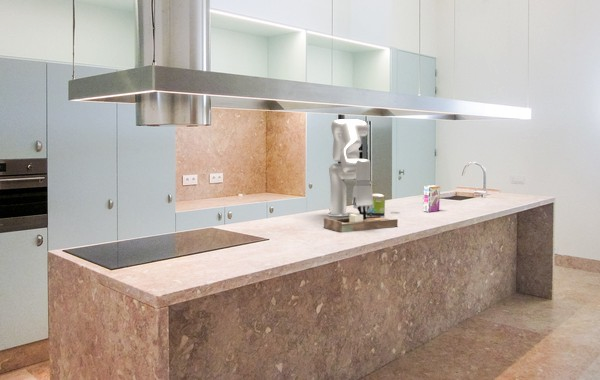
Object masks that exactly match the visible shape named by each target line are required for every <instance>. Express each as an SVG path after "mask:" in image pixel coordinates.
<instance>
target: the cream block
mask: <svg viewBox="0 0 600 380" xmlns="http://www.w3.org/2000/svg"><path fill="white" fill-rule="evenodd" d="M348 218H349V223H359V222H363V215H361V214H359V213H349V216H348Z"/></svg>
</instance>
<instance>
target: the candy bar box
mask: <svg viewBox="0 0 600 380" xmlns="http://www.w3.org/2000/svg"><path fill="white" fill-rule="evenodd" d="M440 190H441V186H440V185H424V186H423V199H422V201H423V203H422V207H423V208H422V212H424V213H434V212H439V211H440V201H441V199H440V196H441V191H440Z"/></svg>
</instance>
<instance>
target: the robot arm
mask: <svg viewBox="0 0 600 380" xmlns="http://www.w3.org/2000/svg"><path fill="white" fill-rule="evenodd" d="M330 127H331V134H332V136H333V137H332V138H333V141H332V142H333V144H332V160H333V161H335V162H336V163H332V164H330V165H329V168H328V173H329V180H330V182H329V183H330V208H329V211H330V212H329V213H327V215H328V217H334V218H335V217H336V218H344V217H349V214H350V213H348V212H347V184H346V183H345V182H344V181H343V180H355V185H354V186H353V189H352V196H351V197H352V199H351V203H352V206H353V209H356V210H357V211H358V214H361V215H363V220H366V212H367V210H368V208H371V207H372V203H373V195H372V194H373V188H372V186H371V184H372V183H373V181H372V180H371V159H370V160H369V159H366V158H360V156H361V155H360V150H359V148H360V147H362V140H361V137H367V135H368V134H369V125H368V123H367V122H366V121H365V120H362V119H354V118H353V119H351V118H350V119H348V118H347V119H343V118H342V119H341V118H340V119H334V120H333V121H332V122H331V126H330ZM337 162H338V163H337ZM339 162H340V163H339Z"/></svg>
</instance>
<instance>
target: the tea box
mask: <svg viewBox="0 0 600 380" xmlns="http://www.w3.org/2000/svg"><path fill="white" fill-rule="evenodd" d="M372 195H373V203H372V207H371V208H368V210H367V212H366V217H371V216H381V218H385V219H386V217H385V213H386V212H385V211H386V210H385V209H386V208H385V204H386V196H385V195H384V194H382V193H372Z"/></svg>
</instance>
